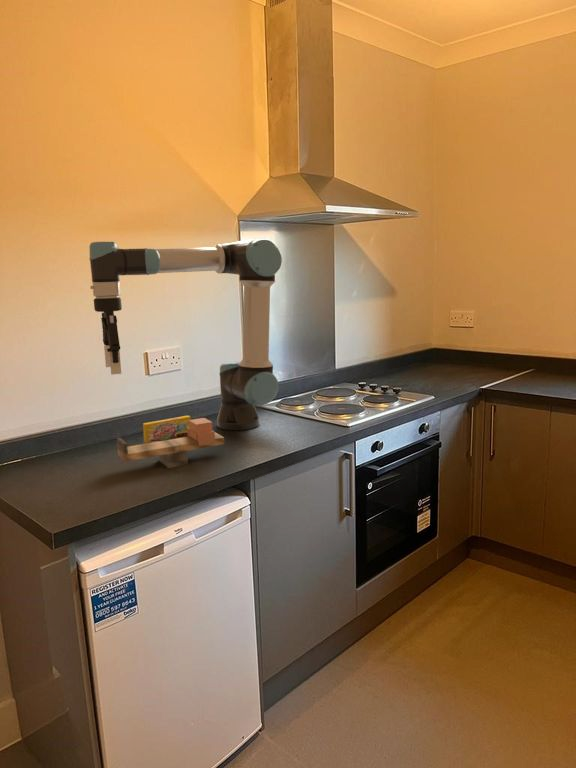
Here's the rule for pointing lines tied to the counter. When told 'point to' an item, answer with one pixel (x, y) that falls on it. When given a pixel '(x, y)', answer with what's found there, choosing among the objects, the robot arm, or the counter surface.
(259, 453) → the counter surface
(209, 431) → the block
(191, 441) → the beam
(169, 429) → the candy box
